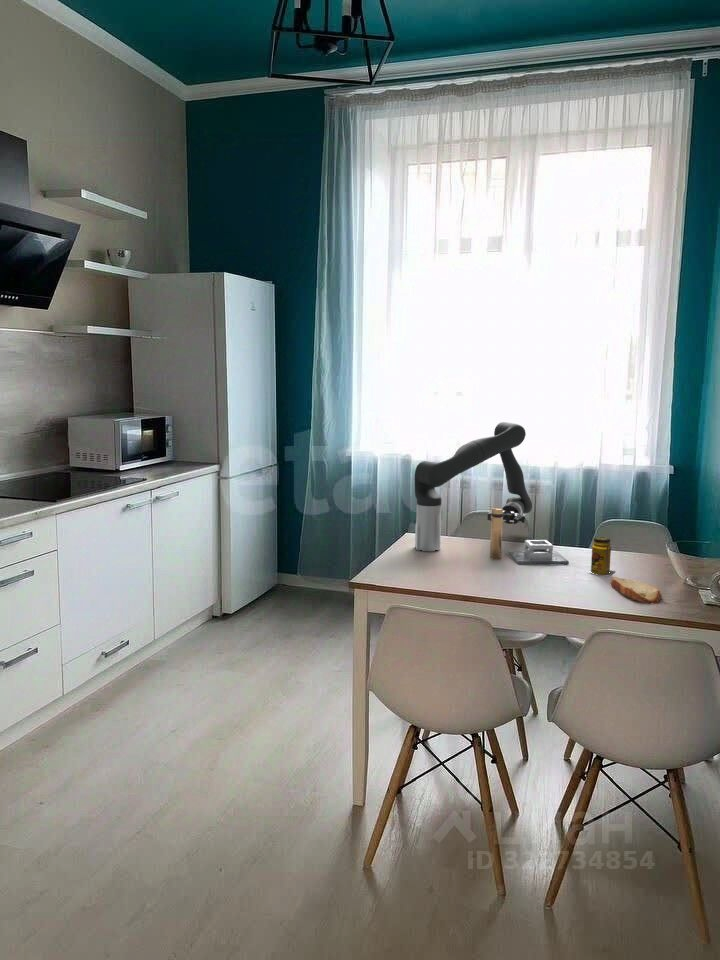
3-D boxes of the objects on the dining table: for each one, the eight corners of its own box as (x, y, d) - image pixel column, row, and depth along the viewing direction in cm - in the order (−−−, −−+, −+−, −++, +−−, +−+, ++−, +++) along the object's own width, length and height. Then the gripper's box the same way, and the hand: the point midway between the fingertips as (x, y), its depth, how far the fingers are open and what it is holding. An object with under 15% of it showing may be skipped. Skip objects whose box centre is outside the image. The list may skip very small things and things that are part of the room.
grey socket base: (517, 564, 258) (518, 547, 257) (508, 554, 272) (509, 538, 271) (568, 564, 259) (569, 547, 258) (556, 554, 273) (557, 538, 272)
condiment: (586, 573, 248) (588, 538, 246) (594, 568, 255) (596, 534, 253) (608, 577, 244) (610, 541, 242) (615, 571, 251) (618, 537, 249)
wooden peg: (490, 559, 265) (492, 510, 262) (488, 556, 269) (490, 507, 267) (502, 559, 265) (504, 510, 262) (500, 556, 269) (502, 508, 267)
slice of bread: (613, 582, 239) (614, 570, 239) (671, 592, 228) (672, 581, 228) (593, 595, 225) (594, 583, 225) (654, 606, 214) (655, 594, 214)
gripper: (493, 501, 293) (484, 509, 278) (530, 504, 287) (522, 512, 272) (493, 520, 294) (484, 528, 279) (529, 523, 288) (522, 531, 274)
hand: (503, 520), depth 276 cm, fingers open, 8 cm apart
